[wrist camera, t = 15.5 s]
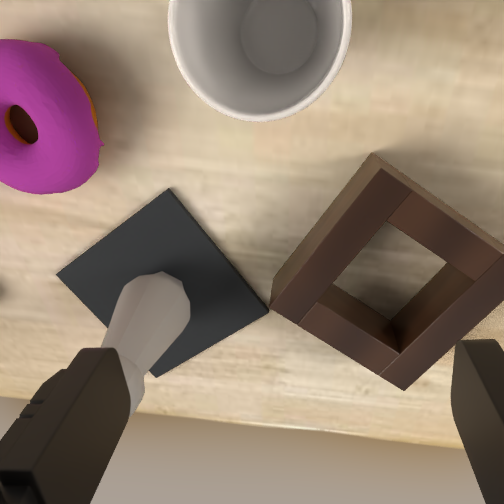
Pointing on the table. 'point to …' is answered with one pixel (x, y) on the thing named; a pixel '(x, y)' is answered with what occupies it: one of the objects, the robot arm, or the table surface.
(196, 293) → the mat
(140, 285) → the salt shaker
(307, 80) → the drinking glass
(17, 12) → the table surface
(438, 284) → the holder
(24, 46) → the donut
